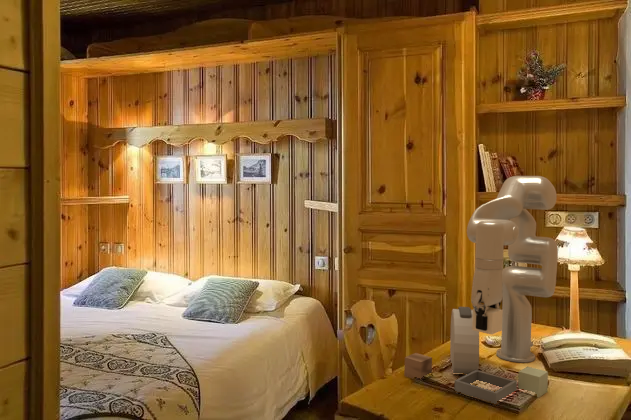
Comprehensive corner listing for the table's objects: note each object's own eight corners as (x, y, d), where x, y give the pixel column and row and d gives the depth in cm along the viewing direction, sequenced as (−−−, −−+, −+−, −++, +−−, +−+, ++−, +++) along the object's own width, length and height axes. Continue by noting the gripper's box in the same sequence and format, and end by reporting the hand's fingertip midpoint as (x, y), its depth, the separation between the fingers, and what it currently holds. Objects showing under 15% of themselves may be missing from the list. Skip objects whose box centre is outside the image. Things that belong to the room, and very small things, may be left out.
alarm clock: (478, 380, 161) (480, 316, 160) (453, 378, 163) (454, 315, 162) (472, 358, 182) (473, 301, 181) (450, 356, 184) (451, 300, 183)
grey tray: (476, 381, 161) (476, 369, 161) (516, 393, 152) (516, 381, 152) (454, 392, 152) (454, 380, 152) (495, 405, 143) (496, 393, 143)
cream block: (482, 326, 155) (483, 306, 155) (501, 330, 151) (502, 309, 151) (472, 330, 151) (472, 309, 151) (492, 334, 147) (492, 313, 146)
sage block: (526, 386, 158) (527, 366, 157) (547, 392, 153) (548, 371, 153) (518, 391, 154) (518, 371, 153) (538, 397, 149) (539, 377, 149)
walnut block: (415, 371, 169) (415, 352, 169) (431, 376, 165) (432, 357, 165) (404, 376, 165) (404, 357, 165) (420, 381, 161) (421, 362, 160)
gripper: (491, 260, 159) (489, 319, 160) (461, 266, 147) (459, 330, 148) (515, 263, 153) (513, 324, 154) (486, 269, 141) (484, 336, 142)
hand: (487, 326), depth 151 cm, fingers closed on cream block, 6 cm apart
